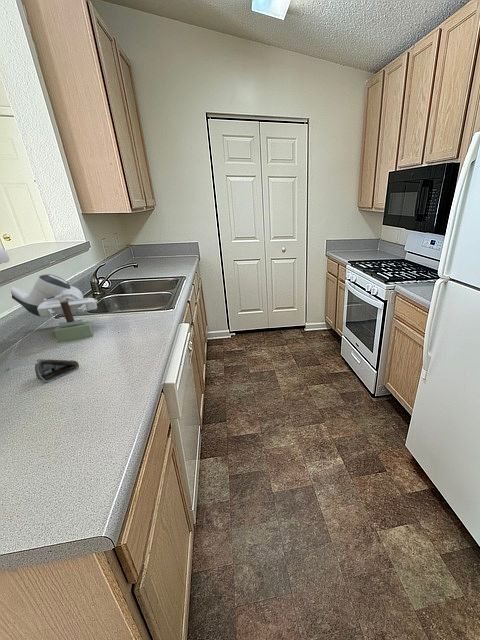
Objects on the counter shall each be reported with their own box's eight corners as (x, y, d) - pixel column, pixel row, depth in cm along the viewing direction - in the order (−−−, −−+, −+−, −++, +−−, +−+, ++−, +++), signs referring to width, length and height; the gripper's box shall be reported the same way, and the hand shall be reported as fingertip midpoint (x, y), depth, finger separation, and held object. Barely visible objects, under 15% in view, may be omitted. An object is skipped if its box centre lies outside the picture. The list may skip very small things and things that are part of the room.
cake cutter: (64, 340, 133) (51, 304, 126) (65, 338, 135) (52, 302, 128) (87, 336, 136) (75, 301, 130) (87, 334, 138) (75, 299, 132)
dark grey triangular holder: (70, 364, 117) (32, 350, 108) (81, 362, 114) (42, 348, 104) (60, 389, 114) (19, 378, 105) (70, 389, 110) (29, 377, 101)
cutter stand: (59, 344, 132) (53, 330, 129) (60, 340, 136) (55, 326, 133) (93, 338, 137) (89, 325, 134) (93, 334, 141) (89, 321, 138)
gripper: (99, 306, 147) (99, 315, 136) (44, 314, 139) (39, 324, 128) (95, 292, 144) (94, 300, 133) (38, 299, 136) (32, 308, 125)
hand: (67, 312), depth 130 cm, fingers open, 8 cm apart
